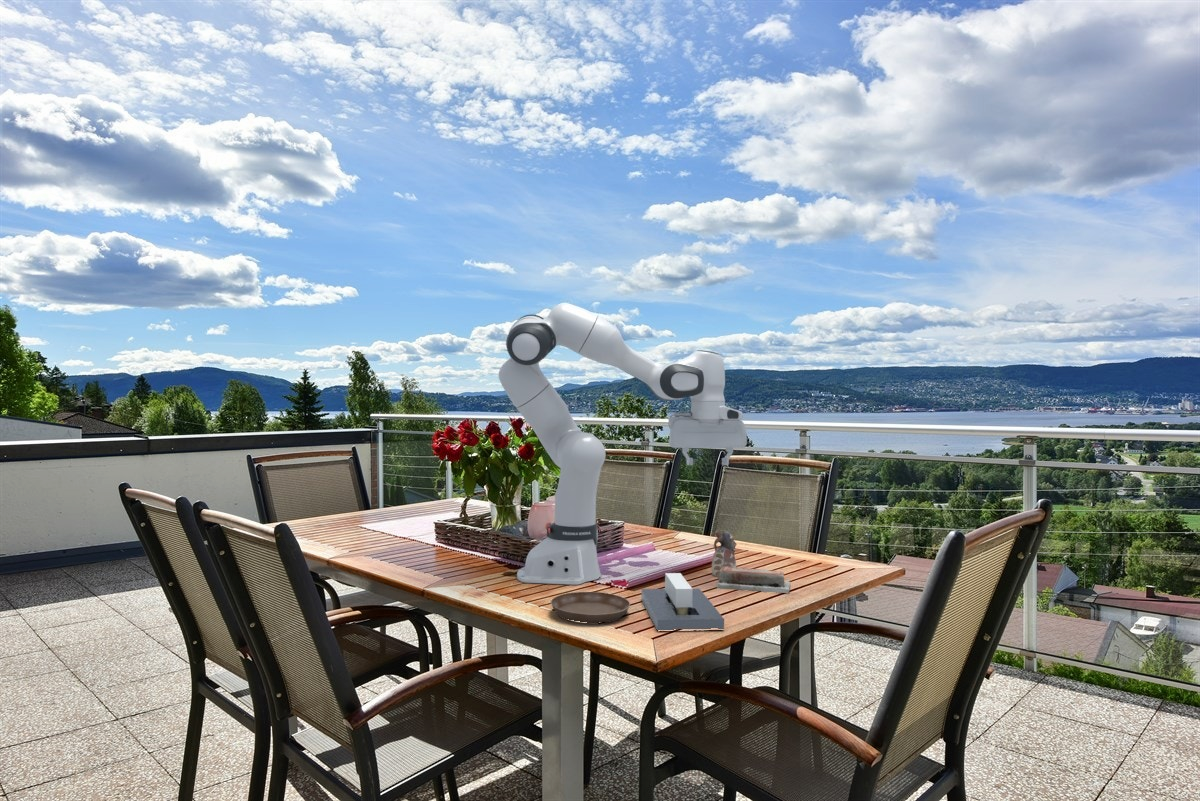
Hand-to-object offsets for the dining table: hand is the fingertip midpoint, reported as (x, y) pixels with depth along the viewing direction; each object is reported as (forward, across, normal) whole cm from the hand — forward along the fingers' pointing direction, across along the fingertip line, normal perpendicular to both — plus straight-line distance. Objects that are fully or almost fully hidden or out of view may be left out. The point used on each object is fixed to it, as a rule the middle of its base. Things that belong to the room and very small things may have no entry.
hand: (707, 465), depth 193 cm
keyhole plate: (+31, -12, -28) cm, 43 cm away
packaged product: (+32, +11, -5) cm, 34 cm away
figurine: (+31, +6, +7) cm, 32 cm away
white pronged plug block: (+31, -12, -26) cm, 42 cm away
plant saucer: (+31, -32, -28) cm, 52 cm away
